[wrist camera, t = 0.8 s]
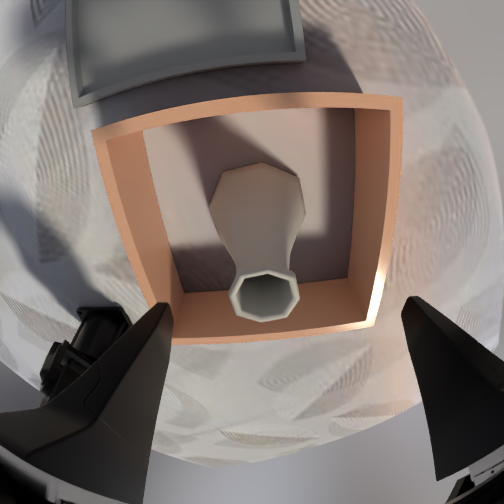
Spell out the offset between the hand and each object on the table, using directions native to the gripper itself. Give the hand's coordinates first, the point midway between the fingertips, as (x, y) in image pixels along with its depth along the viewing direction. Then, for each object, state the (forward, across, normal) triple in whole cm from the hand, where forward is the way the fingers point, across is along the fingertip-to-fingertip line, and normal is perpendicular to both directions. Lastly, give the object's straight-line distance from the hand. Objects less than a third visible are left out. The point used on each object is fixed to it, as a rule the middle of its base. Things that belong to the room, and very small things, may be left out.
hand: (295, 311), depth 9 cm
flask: (+12, +1, +2) cm, 13 cm away
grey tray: (+12, +7, -15) cm, 21 cm away
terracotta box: (+12, +1, +2) cm, 12 cm away
